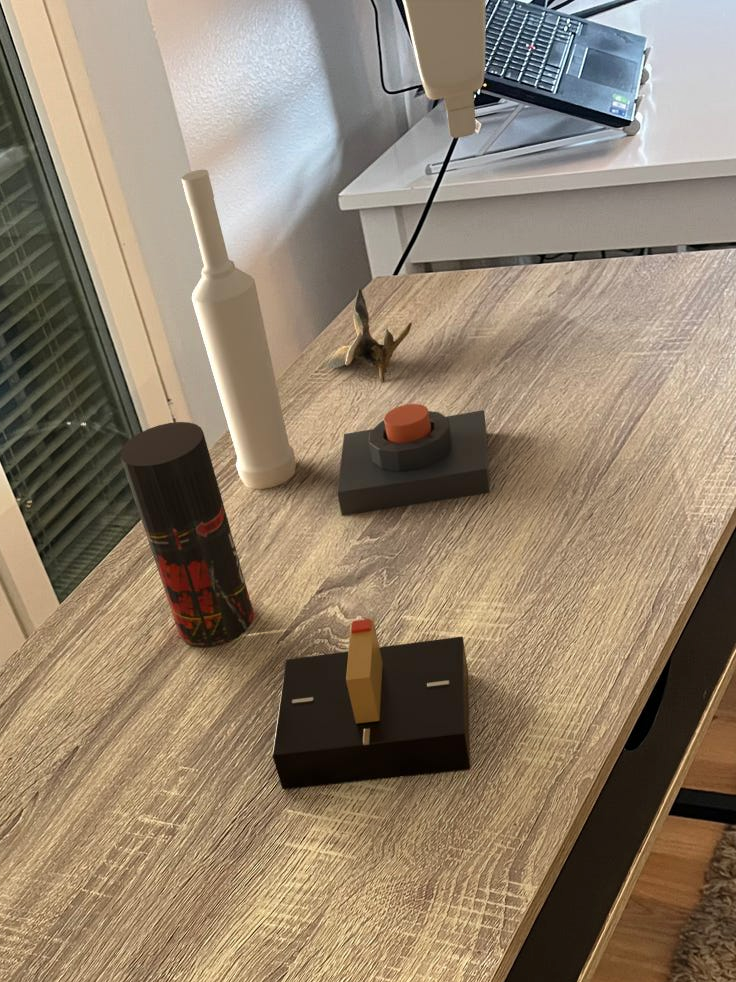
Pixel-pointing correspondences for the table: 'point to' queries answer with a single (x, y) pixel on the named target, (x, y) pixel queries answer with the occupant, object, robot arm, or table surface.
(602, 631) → the table surface
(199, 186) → the bottle
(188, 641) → the deodorant
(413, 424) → the bell button
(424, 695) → the black flat block
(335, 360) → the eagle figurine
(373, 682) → the lock knob
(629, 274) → the table surface
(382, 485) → the bell box
